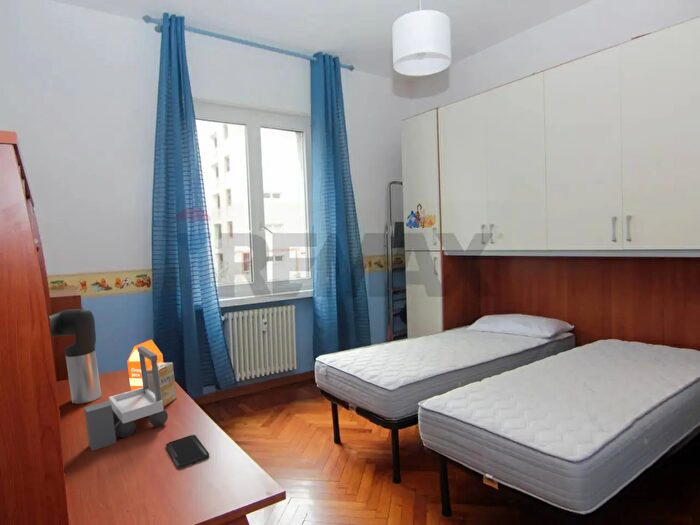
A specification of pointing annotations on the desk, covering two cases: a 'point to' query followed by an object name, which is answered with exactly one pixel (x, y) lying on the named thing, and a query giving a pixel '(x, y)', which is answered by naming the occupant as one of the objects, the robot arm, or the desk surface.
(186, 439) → the phone
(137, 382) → the orange juice
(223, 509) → the desk surface
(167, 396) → the supplement box
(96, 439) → the block
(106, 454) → the desk surface
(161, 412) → the trolley
